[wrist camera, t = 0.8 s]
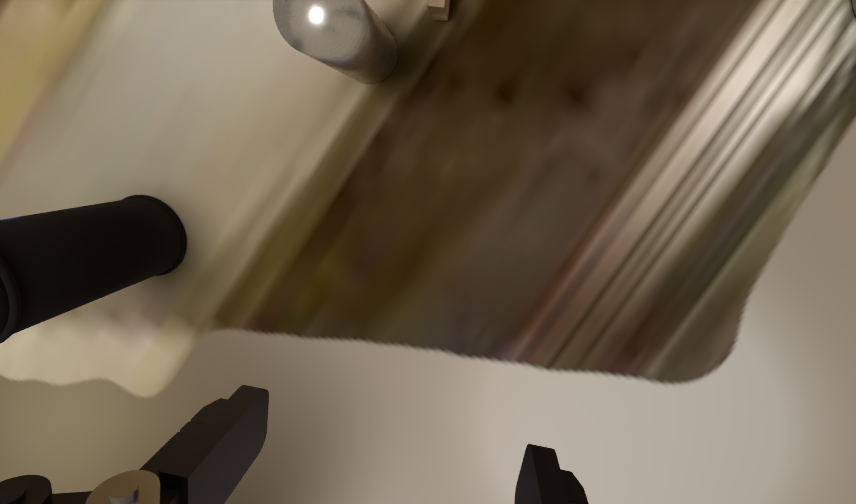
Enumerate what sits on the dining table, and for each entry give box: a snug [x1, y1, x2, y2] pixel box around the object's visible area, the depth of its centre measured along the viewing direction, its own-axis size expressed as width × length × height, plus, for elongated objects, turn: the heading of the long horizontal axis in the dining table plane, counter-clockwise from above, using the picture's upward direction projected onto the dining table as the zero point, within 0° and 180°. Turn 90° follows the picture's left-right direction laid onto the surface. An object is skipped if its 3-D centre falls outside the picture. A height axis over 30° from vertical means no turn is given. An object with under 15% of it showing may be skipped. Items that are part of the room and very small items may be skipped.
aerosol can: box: [0, 195, 186, 343], centre depth 32 cm, size 8×8×20 cm
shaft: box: [273, 0, 398, 84], centre depth 29 cm, size 5×5×12 cm
